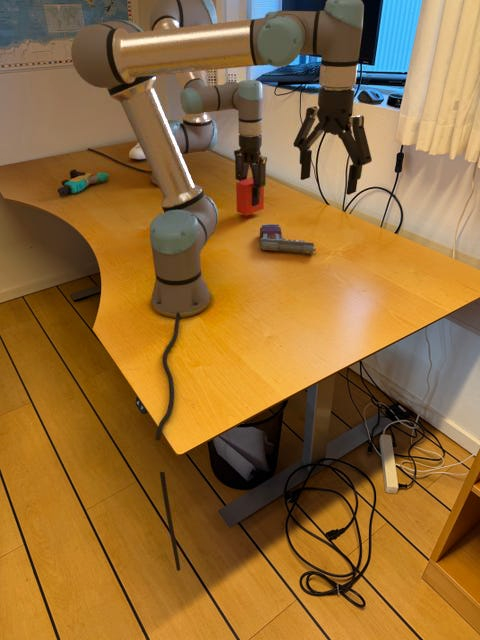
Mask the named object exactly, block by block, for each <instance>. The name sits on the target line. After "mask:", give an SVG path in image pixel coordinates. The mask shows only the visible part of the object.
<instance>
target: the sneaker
mask: <svg viewBox="0 0 480 640" xmlns="http://www.w3.org/2000/svg"><path fill="white" fill-rule="evenodd" d="M128 156H129V157H128V158H129V159H132V160H138V161H139V160H147V159H146V157H145V155H144V153H143V151H142V148H141V146H140V144H139V142H137V143H136V144H135V146H133V148H131V149H130V151H129V152H128Z"/></svg>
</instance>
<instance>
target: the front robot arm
mask: <svg viewBox="0 0 480 640" xmlns="http://www.w3.org/2000/svg"><path fill="white" fill-rule="evenodd" d="M363 2H364V1H363V0H326V2H325V5H324V8H323V10H317V11H308V10H307V11H305V10H302V11H301V10H274V11H268V12H267V13H265V15H264V17H260V18H253V19H252V18H251V19H243V20H235V21H234V20H233V21H225V22H217V23H215V24H207V25H198V26H189V27H181V28H172V29H163V30H154V31H151V30H146V31H144V29H142V27H140V26H139V25H137V24H136V23H134V22H132V21H129V20H123V19H112V20H108V21H105V22H99V23H95V24H89V25H86V26H84V27H83V28H82V29H80V30H79V31H78V32H77V33H76V35H75V36H74V38H73V40H72V43H71V47H70V56H71V61H72V64H73V67H74V69H75V71H76V73H77V74H78V76H79V77H80V78H81V79H82V80H83V81H84V82H86V83H87V84H88V85H91V86H93V87H96V88H100V89H106V91H107V92H108V94H109V96H110V98H112V99H113V100H116V101H118V102H119V103H120V105H121V107H122V109H123V111H124V113H125V116H126V117H127V120H128V122H129V125H130V126H131V129H132V131H133V133H134V135H135V138H136V140H137V141H138V142H139V144H140V146H141V148H142V151H143V153H144V155H145V157H146V159H145V160H146V162H147V164H148V166H149V168H150V171H152V173H153V175H154V177H155V179H156V181H157V183H158V186H159V187H158V186H157V187H158V188H159V190H160V192H161V195H162V196H163V198H162V200H161V203H160V206H161V209H162V211H163V213H162V212H161V213H159V214H157V215H156V216H155V217H154V218H153V219H152V221H151V222H150V225H149V241H150V247H151V253H152V260H153V261H152V262H153V268H154V274H155V275H154V276H155V281H154V284H153V290H152V294H151V305H152V308H153V310H154V311H155V312H156V313H157V314H159V315H160V316H163V317H167V318H171V319H175V321H174V328H173V330H174V331H173V334H172V335H173V336H172V337H171V340H170V341H169V343H168V345H167V346H166V348H165V349H164V351H163V354H162V367H163V369H164V371H165V374H166V376H167V381H168V390H169V391H168V392H169V398H168V405H167V409H166V413H165V414H164V416H163V417H162V419H161V420H160V422H159V423H158V427H157V429H156V433H155V441H156V442H159V441H160V440H161V438H162V432H163V428H164V426H165V424H167V421H168V420H169V418H170V417H171V414H172V413H173V408H174V402H175V388H174V387H175V386H174V378H173V375H172V372H171V370H170V368H169V365H168V355H169V352H170V350H171V349H172V347H174V344H175V342H176V340H177V337H178V335H179V326H180V325H179V324H180V319H183V318H185V319H186V318H190V317H194V316H196V315H199V314H201V313H202V312H204V311H205V310H207V308H208V307H209V306H210V303H211V294H210V293H211V292H210V290H209V288H208V286H207V284H206V281H205V278H204V277H203V275H202V262H201V261H202V259H201V253H202V250H203V249H204V247H205V246H206V244H207V243H208V241H209V239H210V238H211V237H212V236H213V235H214V233H215V231H216V229H217V226H218V223H219V210H218V207H217V205H216V203H215V202H214V200H213V199H212V198H211V197H210V196H209V197H208V196H207V195H206V193H205V192H204V190H203V187H202V186H200V185H198V184H195V182H194V180H193V178H192V175H191V173H190V171H189V168H188V166H187V164H186V161H185V159H184V157H183V154H181V151H180V149H179V147H178V144H177V142H176V139H175V137H174V135H173V132H172V130H171V127H170V125H169V123H168V120H169V119H168V118H167V115H166V113H165V111H164V108H163V105H162V104H161V100H160V99H159V97H158V93H157V92H156V89H155V85H156V81H157V76H160V75H163V76H164V75H172V74H174V73H184V72H194V71H205V70H207V71H215V70H224V69H225V70H226V69H235V68H246V67H255V66H259V67H260V66H272V67H275V68H279V67H285V66H288V65H290V64H292V63H293V62H294V61H295V60H296V59H297V58H298V57H299V55H303V56H304V55H313V56H317V55H321V57H320V58H321V60H320V69H319V70H320V71H319V80H318V84H319V86H321V87H319V89H318V95H317V106H316V105H314V106H310V107H307V109H306V111H305V116H304V117H305V118H304V120H303V121H302V124H301V126H300V128H299V130H298V132H297V135H296V137H295V139H294V141H293V145H292V146H293V147H294V148H297V149H298V150H299V165H301V166H300V180H301V181H304V180H307V179H309V178H311V168H312V156H313V150H311V147H312V146H313V145H314V144H315V142H316V141H317V140H318V139H319V137H321V136H322V134H323V133H324V134H331V135H333V136H337V137H338V139H340V140H341V142H342V144H343V146H344V148H345V150H346V153H347V155H348V156H349V158H350V160H351V162H352V164H350V165H349V168H348V177H347V184H346V185H347V186H346V193H345V194H346V195H350V196H351V194H354V193H356V192H357V188H358V187H357V186H358V180H361V178H362V173H363V166H365V165H367V164H370V163H372V161H373V159H372V154H371V151H370V146H369V142H368V139H367V135H366V130H365V116H364V115H362V114H360V115H357V116H355V115H352V110H353V106H354V101H355V93H356V91H355V88H354V87H355V86H356V85H357V84H356V83H357V76H358V75H357V74H358V66H359V58H360V50H361V42H362V34H363V29H364V28H363V27H364V13H365V4H364V3H363ZM316 119H317V120H318V123H317V124H316V125H315V126H314V127H313V125H314V123H315V121H316ZM312 128H313V130H312ZM311 130H312V131H311ZM138 142H137V143H138ZM152 173H151V174H152ZM159 477H160V483H161V490H162V497H163V504H164V509H165V514H166V520H167V525H168V532H169V536H170V540H171V545H172V551H173V556H174V562H175V568H176V571H177V572H179V571H181V563H180V558H179V551H178V546H177V540H176V534H175V529H174V524H173V518H172V512H171V506H170V501H169V493H168V487H167V479H166V473H165V471H159Z"/></svg>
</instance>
